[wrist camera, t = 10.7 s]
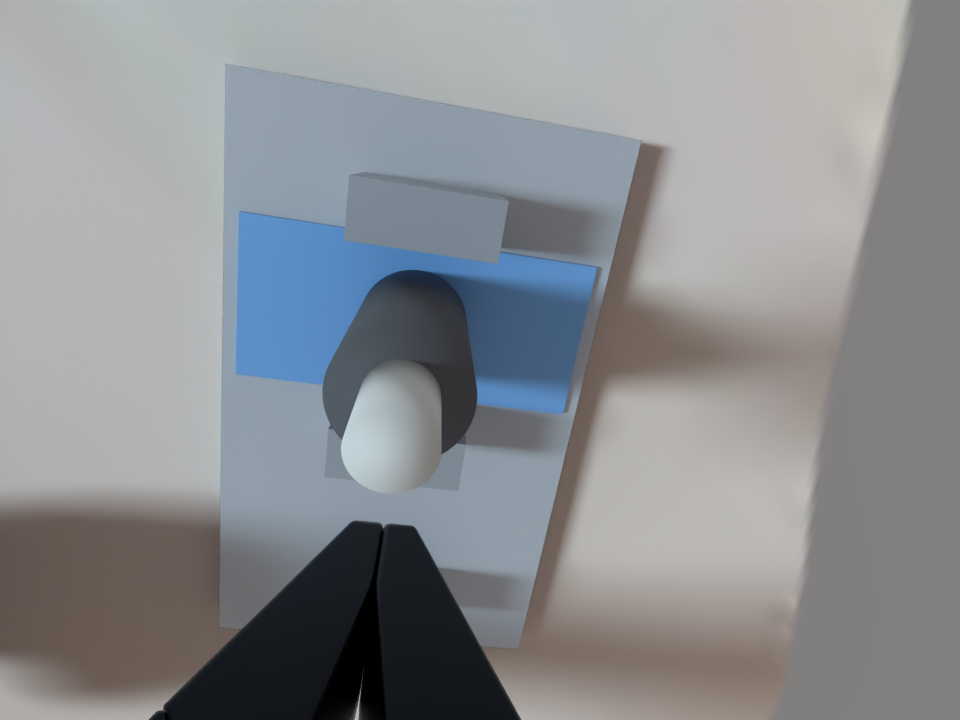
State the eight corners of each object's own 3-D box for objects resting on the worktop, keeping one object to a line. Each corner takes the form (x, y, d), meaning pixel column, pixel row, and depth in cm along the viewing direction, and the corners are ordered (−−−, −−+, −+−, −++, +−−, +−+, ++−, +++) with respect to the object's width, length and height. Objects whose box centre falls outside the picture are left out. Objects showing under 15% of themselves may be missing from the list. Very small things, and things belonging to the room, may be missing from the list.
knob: (355, 364, 18) (291, 521, 10) (365, 262, 17) (300, 351, 9) (458, 377, 19) (469, 537, 11) (473, 278, 18) (500, 376, 10)
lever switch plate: (228, 608, 23) (186, 696, 19) (237, 68, 16) (177, 43, 13) (515, 630, 24) (528, 716, 20) (630, 141, 18) (681, 137, 14)
